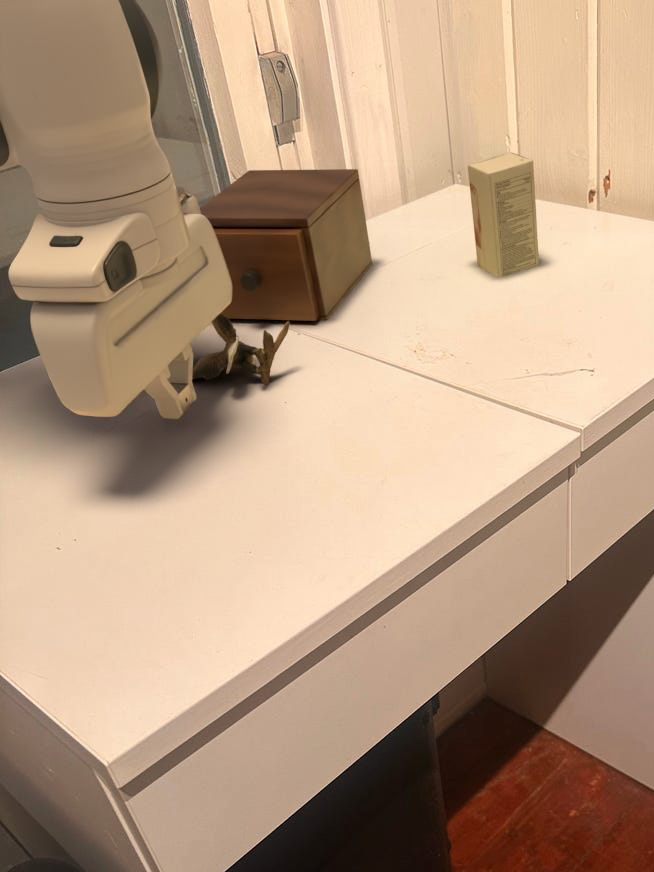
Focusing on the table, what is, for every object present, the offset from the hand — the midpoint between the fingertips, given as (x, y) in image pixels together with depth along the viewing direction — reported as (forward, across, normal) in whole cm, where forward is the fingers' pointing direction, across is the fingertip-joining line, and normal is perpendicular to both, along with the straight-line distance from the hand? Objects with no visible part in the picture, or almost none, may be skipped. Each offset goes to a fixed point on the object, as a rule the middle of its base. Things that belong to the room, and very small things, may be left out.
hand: (179, 409), depth 72 cm
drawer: (+1, -24, -1) cm, 24 cm away
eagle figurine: (+2, -9, 0) cm, 9 cm away
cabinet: (+2, -26, -1) cm, 26 cm away
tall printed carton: (+2, -33, +19) cm, 38 cm away
